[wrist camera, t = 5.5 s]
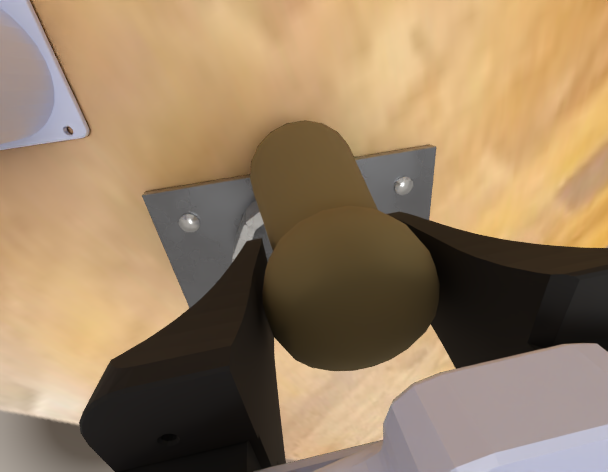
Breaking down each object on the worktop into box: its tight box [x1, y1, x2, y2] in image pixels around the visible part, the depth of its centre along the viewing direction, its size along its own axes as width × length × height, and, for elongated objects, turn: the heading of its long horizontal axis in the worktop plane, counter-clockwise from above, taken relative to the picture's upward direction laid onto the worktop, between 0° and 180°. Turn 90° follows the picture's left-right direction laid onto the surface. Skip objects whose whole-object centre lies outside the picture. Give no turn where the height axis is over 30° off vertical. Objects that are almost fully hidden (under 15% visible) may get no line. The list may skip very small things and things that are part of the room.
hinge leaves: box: [142, 145, 436, 308], centre depth 22 cm, size 21×12×4 cm, turn 97°
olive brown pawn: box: [250, 121, 440, 371], centre depth 12 cm, size 6×6×11 cm
